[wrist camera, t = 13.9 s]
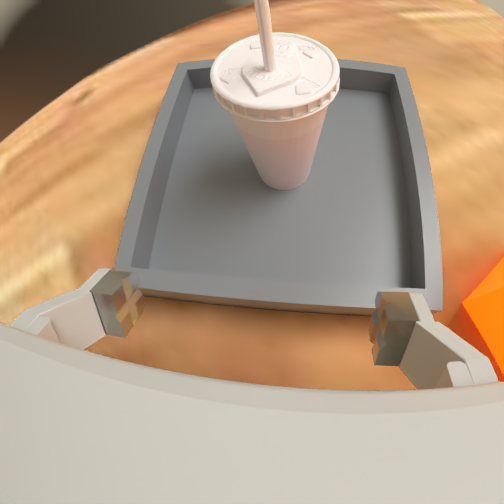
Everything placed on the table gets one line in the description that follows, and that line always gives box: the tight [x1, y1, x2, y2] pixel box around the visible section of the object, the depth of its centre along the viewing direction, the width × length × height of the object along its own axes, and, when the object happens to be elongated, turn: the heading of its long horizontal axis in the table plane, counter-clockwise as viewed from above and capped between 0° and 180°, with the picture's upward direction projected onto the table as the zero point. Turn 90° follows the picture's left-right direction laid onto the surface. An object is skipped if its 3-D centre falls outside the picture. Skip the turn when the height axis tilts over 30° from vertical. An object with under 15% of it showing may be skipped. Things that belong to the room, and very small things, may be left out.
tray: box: [114, 59, 443, 316], centre depth 22 cm, size 20×20×4 cm
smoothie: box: [210, 0, 340, 190], centre depth 16 cm, size 6×6×14 cm
